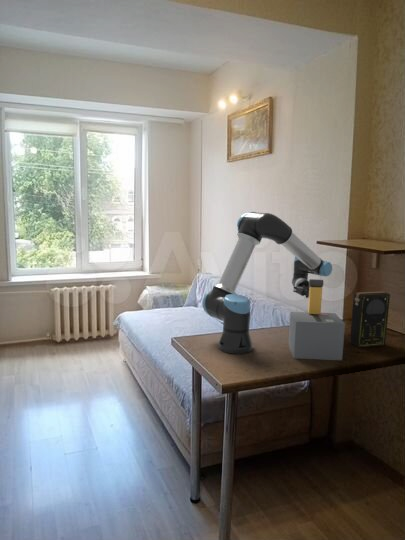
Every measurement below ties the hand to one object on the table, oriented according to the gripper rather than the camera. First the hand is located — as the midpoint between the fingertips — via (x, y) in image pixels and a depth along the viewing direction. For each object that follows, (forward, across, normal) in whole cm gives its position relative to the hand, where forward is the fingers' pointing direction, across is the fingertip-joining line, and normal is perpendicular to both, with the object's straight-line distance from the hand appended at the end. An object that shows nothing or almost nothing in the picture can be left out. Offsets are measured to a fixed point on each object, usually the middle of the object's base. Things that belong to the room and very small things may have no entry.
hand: (313, 297), depth 192 cm
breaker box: (+11, 0, -22) cm, 25 cm away
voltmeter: (-3, -27, -23) cm, 35 cm away
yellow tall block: (+6, 0, -6) cm, 8 cm away
